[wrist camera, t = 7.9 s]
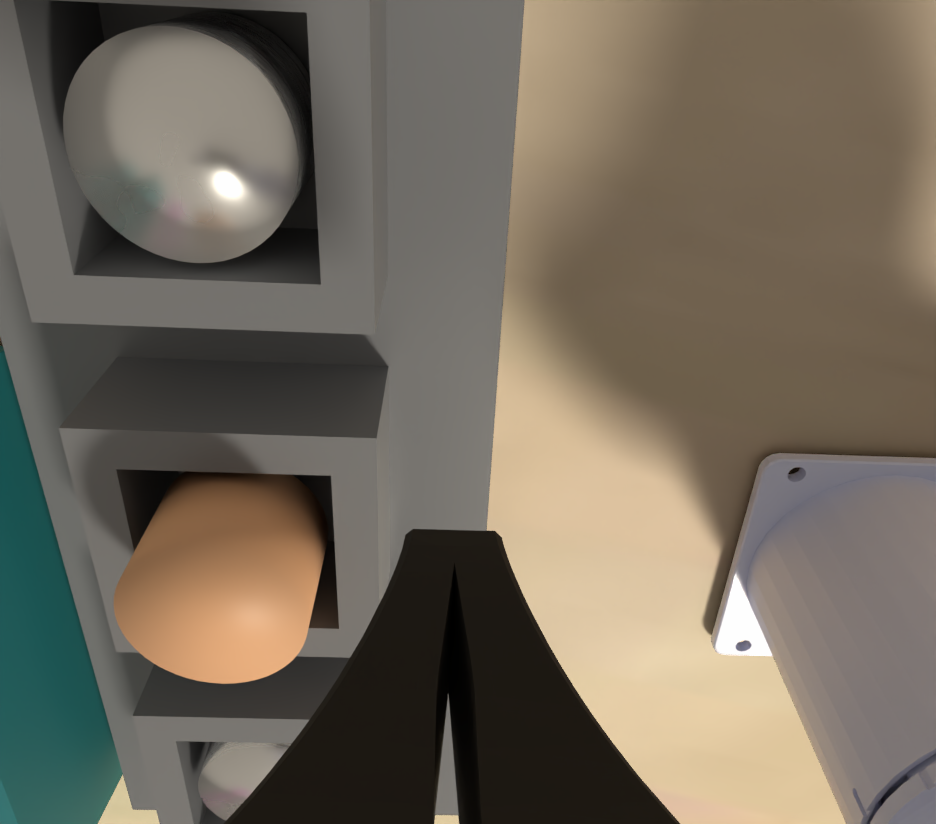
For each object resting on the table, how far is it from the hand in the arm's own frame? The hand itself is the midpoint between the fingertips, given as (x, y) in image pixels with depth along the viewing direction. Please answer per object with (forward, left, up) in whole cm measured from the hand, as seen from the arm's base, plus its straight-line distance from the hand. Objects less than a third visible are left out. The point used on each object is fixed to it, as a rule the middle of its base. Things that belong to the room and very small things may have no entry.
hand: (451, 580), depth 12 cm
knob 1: (+5, -5, -8) cm, 11 cm away
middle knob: (+5, +4, -6) cm, 9 cm away
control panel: (+5, +4, -10) cm, 12 cm away
